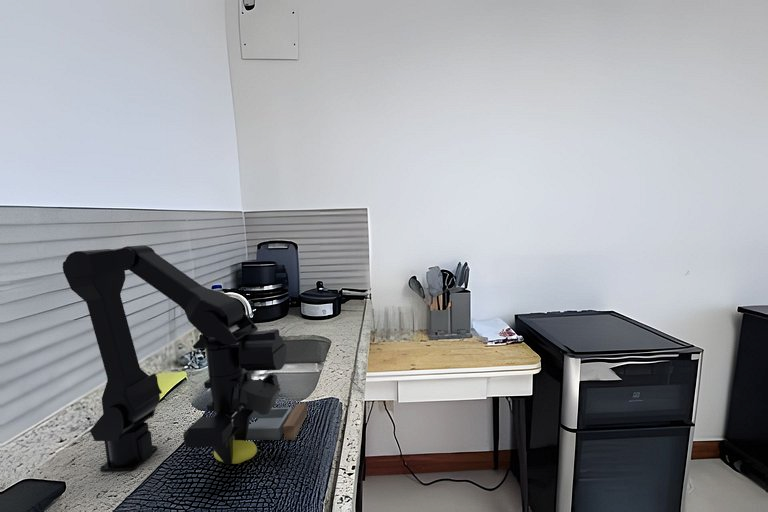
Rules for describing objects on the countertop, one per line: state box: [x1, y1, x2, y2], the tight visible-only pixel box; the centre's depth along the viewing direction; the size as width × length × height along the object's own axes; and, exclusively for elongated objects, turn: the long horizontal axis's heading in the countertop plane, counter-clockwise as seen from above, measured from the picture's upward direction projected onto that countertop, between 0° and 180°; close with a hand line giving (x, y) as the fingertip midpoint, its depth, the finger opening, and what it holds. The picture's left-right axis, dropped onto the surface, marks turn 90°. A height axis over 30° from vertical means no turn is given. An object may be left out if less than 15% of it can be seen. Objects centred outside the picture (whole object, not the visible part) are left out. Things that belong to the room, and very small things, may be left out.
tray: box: [233, 406, 294, 441], centre depth 75 cm, size 11×8×2 cm
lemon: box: [213, 440, 258, 465], centre depth 65 cm, size 4×8×4 cm, turn 79°
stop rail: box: [283, 402, 308, 441], centre depth 74 cm, size 2×9×3 cm, turn 177°
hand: (235, 454), depth 65 cm, fingers open, 5 cm apart
